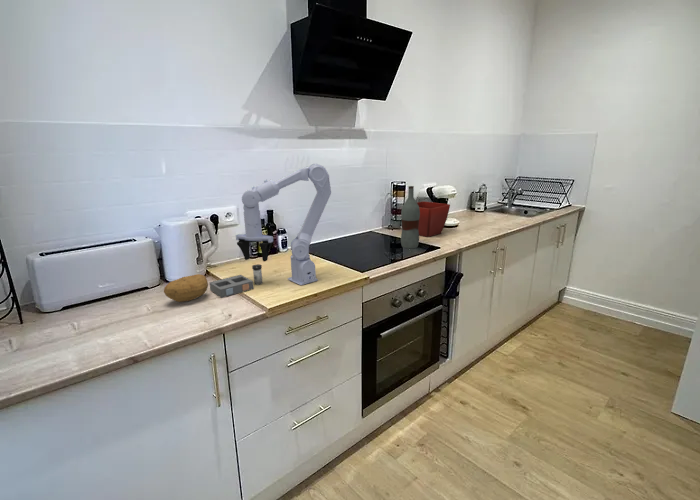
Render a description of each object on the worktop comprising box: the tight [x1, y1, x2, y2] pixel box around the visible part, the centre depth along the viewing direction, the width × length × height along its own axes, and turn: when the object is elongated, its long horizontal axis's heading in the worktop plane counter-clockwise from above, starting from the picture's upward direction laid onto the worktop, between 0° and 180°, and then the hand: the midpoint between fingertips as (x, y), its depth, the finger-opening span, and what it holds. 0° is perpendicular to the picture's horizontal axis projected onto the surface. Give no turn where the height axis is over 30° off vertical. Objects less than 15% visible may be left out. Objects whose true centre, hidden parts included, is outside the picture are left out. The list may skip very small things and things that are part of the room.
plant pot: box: [416, 201, 451, 238], centre depth 212 cm, size 19×19×17 cm
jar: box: [251, 263, 264, 286], centre depth 140 cm, size 3×3×7 cm
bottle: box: [400, 185, 420, 250], centre depth 184 cm, size 9×9×30 cm
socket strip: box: [208, 274, 254, 299], centre depth 134 cm, size 10×12×3 cm
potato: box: [163, 273, 209, 303], centre depth 125 cm, size 10×14×8 cm
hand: (256, 259), depth 138 cm, fingers open, 7 cm apart
